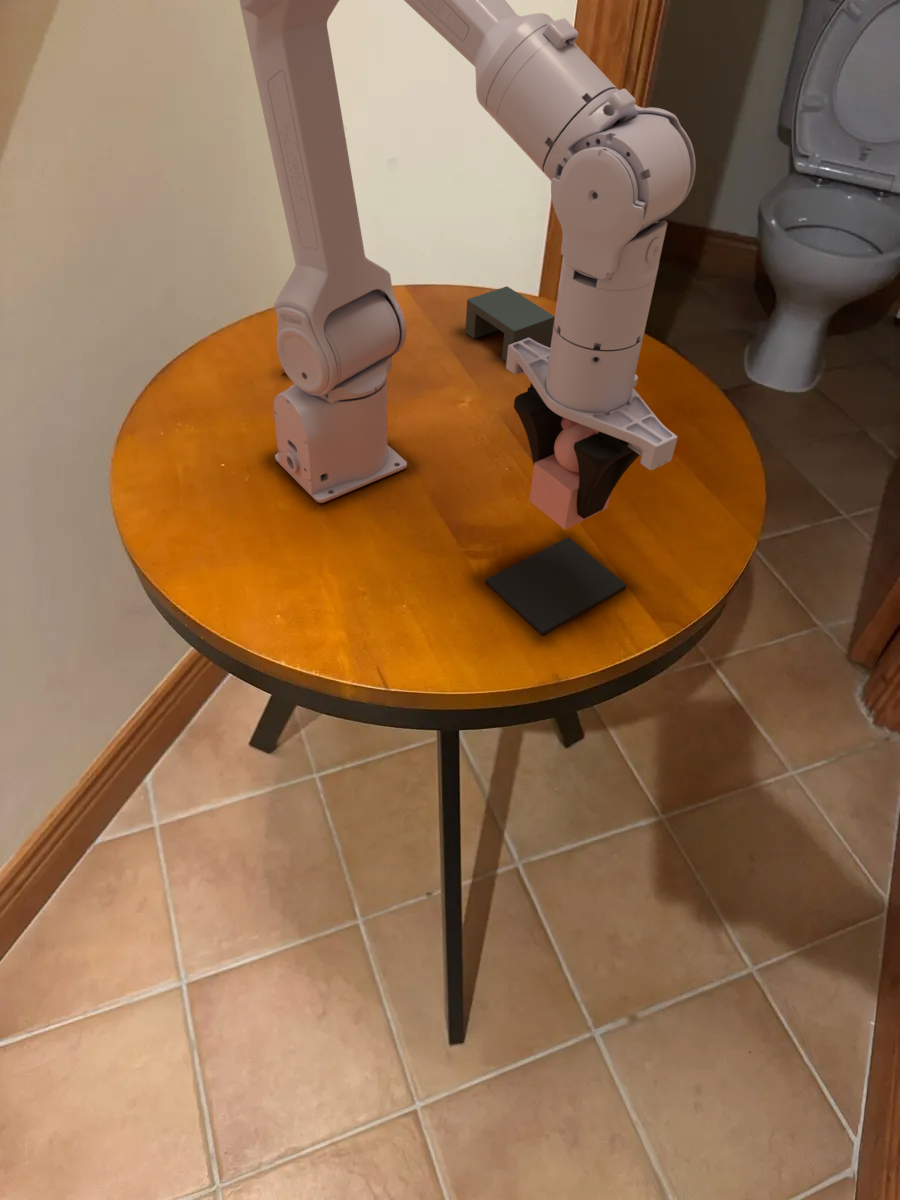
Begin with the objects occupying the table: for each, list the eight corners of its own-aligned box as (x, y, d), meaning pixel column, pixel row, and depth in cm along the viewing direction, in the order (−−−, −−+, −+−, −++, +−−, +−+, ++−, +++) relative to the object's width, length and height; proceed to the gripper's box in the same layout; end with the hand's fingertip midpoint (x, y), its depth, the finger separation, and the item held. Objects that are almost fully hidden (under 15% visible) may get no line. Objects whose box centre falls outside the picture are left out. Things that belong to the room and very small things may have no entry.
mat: (542, 635, 69) (542, 632, 69) (484, 582, 73) (485, 579, 72) (626, 588, 73) (627, 584, 73) (567, 540, 77) (568, 536, 76)
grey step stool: (511, 365, 96) (514, 331, 93) (465, 332, 100) (467, 299, 97) (550, 350, 98) (555, 316, 95) (503, 319, 102) (507, 285, 100)
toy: (564, 530, 66) (578, 449, 61) (528, 501, 68) (539, 420, 63) (608, 508, 68) (625, 428, 62) (572, 480, 70) (585, 401, 65)
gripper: (728, 360, 55) (678, 528, 65) (568, 267, 63) (545, 430, 73) (647, 396, 52) (608, 567, 62) (489, 293, 60) (476, 459, 70)
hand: (569, 495), depth 67 cm, fingers closed on toy, 4 cm apart
